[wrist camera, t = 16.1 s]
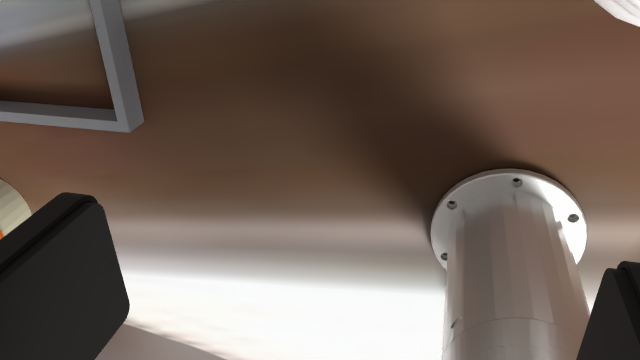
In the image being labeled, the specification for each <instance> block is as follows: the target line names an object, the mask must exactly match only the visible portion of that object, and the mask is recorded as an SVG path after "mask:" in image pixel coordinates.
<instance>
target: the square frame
mask: <svg viewBox="0 0 640 360" xmlns="http://www.w3.org/2000/svg"><path fill="white" fill-rule="evenodd" d="M89 2H90V7H91V11H92V15H93V19H94V24H95V28H96V32H97V36H98V41H99V45H100V49H101V53H102V58H103V62H104V66H105V70H106V75H107V79H108V83H109V87H110V92H111V96H112V100H113V104H114V109H115V110H112V109H100V108H87V107H75V106H62V105H50V104H38V103H25V102H13V101H0V121H6V122H17V123H28V124H39V125H50V126H61V127H72V128H83V129H94V130H105V131H116V132H127V133H130V132H131V131H133V130H134V129H135V128H137V127H138V126H139V125H141V124H142V123H143V122H144V118H143V113H142V108H141V103H140V98H139V94H138V89H137V84H136V79H135V74H134V69H133V65H132V60H131V55H130V50H129V45H128V40H127V36H126V31H125V26H124V21H123V16H122V11H121V7H120V2H119V0H89Z"/></svg>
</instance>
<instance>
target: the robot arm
mask: <svg viewBox="0 0 640 360" xmlns="http://www.w3.org/2000/svg"><path fill="white" fill-rule="evenodd" d="M514 178H519V179H517V180H514ZM451 201H454V202H451ZM587 236H588V235H587V224H586V221H585V218H584V214H583V212H582V210H581V208H580V206H579V204H578V202H577V200H576V199H575V198H574V197H573V195H572V194H571V193H570V192H569V191H568V190H567V189H566V188H564V187H563V186H562V185H561V184H559V183H558V182H557V181H555V180H553V179H551V178H549V177H547V176H545V175H542V174H539V173H536V172H532V171H529V170H521V169H514V168H513V169H495V170H489V171H484V172H481V173H478V174H475V175H473V176H470V177H468V178H466V179H464V180H462V181H461V182H459V183H457V184H456V185H455V186H454V187H452V188H451V189H450V190H449V191H448V192H447V193H446V194H445V195H444V196H443V198H442V199H441V200H440V201H439V203H438V205H437V207H436V209H435V211H434V214H433V218H432V223H431V242H432V247H433V250H434V252H435V255H436V257H437V258H438V260H439V262H440V263H441V265H442V266H443V267H444V268H445V269H446V270H447V273H446V292H445V310H444V329H443V347H442V360H640V263H637V262H628V261H622V262H621V263H620V264H619V265H618V267H617V269H612V268H608V269H606V271H605V273H604V275H603V278H602V281H601V284H600V287H599V290H598V293H597V296H596V300H595V303H594V306H593V309H592V312H591V315H590V312H589V308H588V305H587V301H586V298H585V294H584V290H583V287H582V283H581V280H580V276H579V273H578V269H577V266H576V265H577V263H578V262H579V261H580V259H581V257H582V255H583V253H584V250H585V248H586V242H587ZM129 306H130V304H129V299H128V296H127V292H126V288H125V285H124V281H123V277H122V274H121V270H120V266H119V263H118V259H117V255H116V252H115V248H114V244H113V241H112V237H111V234H110V230H109V226H108V223H107V219H106V215H105V212H104V209H103V207H102V206H101V205H100V204H98V202H97V200H96V199H95V198H94V197H93V196H90V195H84V194H76V193H68V192H66V193H61V194H59V195H57V196H56V197H55V198H54V199H52V200H51V201H50V202H48V203H47V204H46V205H44V206H43V207H42V208H41V209H39V210H38V211H37V212H35V213H34V214H33V215H31V216H30V217H29V218H28V219H26V220H25V221H24V222H22V223H21V224H20V225H18V226H17V227H16V228H15V229H13V230H12V231H11V232H9V233H8V234H7V235H5V236H4V237H3V238H2V239H0V360H94V359H95V358H96V357H97V356H98V354H99V353H100V352H101V351H102V349H103V348H104V347H105V345H106V344H107V343H108V342H109V340H110V339H111V338H112V336H113V335H114V334H115V333H116V331H117V330H118V329H119V327H120V326H121V325H122V324H123V322H124V321H125V319H126V318H127V315H128V313H129Z"/></svg>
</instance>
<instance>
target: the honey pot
mask: <svg viewBox="0 0 640 360" xmlns="http://www.w3.org/2000/svg"><path fill="white" fill-rule="evenodd" d="M594 1H595V2H596V3H598V4H599V5H600V6H601V7H603V8H604V9H605V10H607V11H608V12H609V13H610V14H612V15H613V16H614V17H616V18H618V19H620V20H623V21H626V22H628V23H631V24H634V25H636V26H639V27H640V0H594Z"/></svg>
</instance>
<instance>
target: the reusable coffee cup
mask: <svg viewBox="0 0 640 360" xmlns="http://www.w3.org/2000/svg"><path fill="white" fill-rule="evenodd" d="M31 215H32V214H31V211H30V209H29V207H28V205H27V203H26V201H25V200H24V199H23V197H22V196H21V195H20V194H19V193H18V192H17V191H16V190H15V189H14V188H13V187H12V186H11V185H9V184H8V183H6V182H5V181H3V180H2V179H0V239H2V238H3V237H4V236H5V235H7V234H8V233H9V232H11V231H12V230H13V229H15V228H16V227H17V226H18V225H20V224H21V223H22V222H24V221H25V220H26V219H28V218H29V217H30V216H31Z"/></svg>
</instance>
